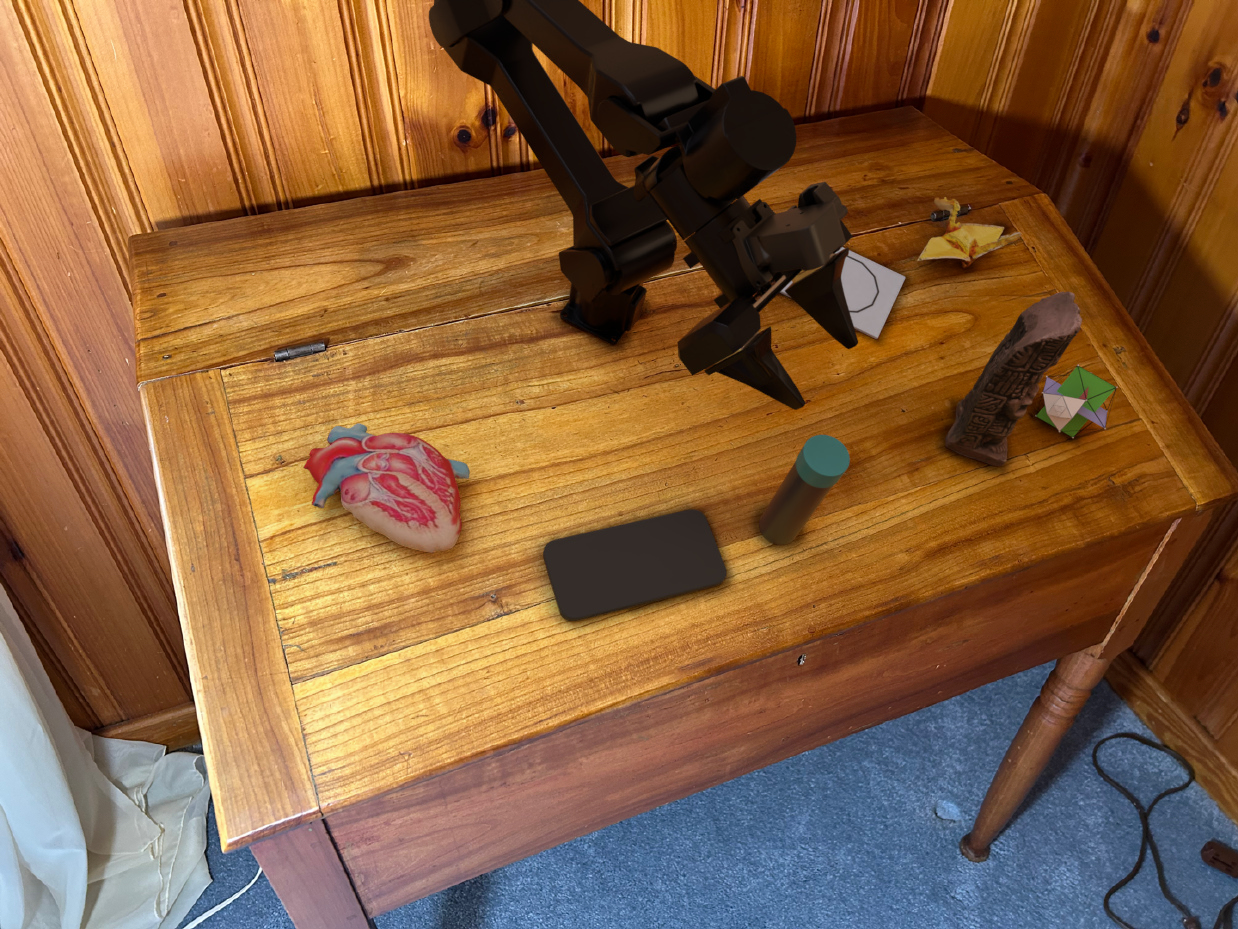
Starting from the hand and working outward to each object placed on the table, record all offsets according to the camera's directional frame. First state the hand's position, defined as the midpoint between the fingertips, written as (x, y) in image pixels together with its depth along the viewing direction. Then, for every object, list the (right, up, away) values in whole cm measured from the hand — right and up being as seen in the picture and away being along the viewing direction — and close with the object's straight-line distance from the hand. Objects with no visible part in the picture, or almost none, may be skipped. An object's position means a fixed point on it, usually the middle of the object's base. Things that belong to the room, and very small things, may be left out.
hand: (828, 375), depth 75 cm
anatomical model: (-37, -10, +5) cm, 38 cm away
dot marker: (-3, -13, +9) cm, 16 cm away
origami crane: (+21, +17, +30) cm, 40 cm away
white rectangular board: (+7, +12, +25) cm, 29 cm away
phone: (-16, -16, +5) cm, 23 cm away
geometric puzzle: (+28, -3, +20) cm, 35 cm away
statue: (+18, -4, +18) cm, 26 cm away
